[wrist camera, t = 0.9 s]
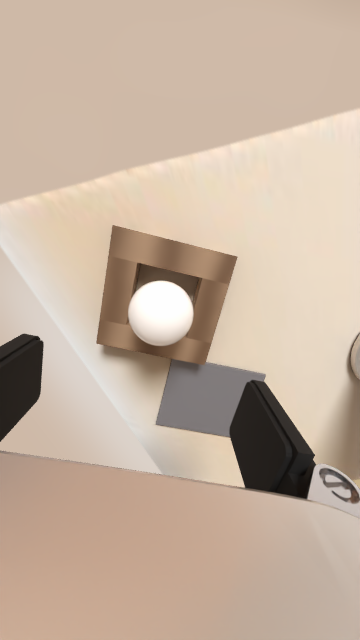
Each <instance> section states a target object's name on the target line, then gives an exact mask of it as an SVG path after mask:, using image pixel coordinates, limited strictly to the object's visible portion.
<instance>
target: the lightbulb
mask: <svg viewBox="0 0 360 640" xmlns="http://www.w3.org/2000/svg"><path fill="white" fill-rule="evenodd" d="M193 317H194V310H193V305H192V302H191V299H190V297H189V296H188V294H187V293H186V292H185V291H184V290H183V289H182V288H181V287H180V286H178V285H176V284H174V283H172V282H169V281H153V282H150V283H147V284H145V285H143V286H142V287H140V288H139V289H138V290H137V291H136V292H135V294H134V295H133V297H132V298H131V301H130V303H129V307H128V319H129V323H130V326H131V328H132V330H133V332H134V333H135V334H136V335H137V336H138V337H139V338H140V339H141V340H143V341H144V342H146V343H148V344H151V345H155V346H167V345H171V344H174V343H176V342H178V341H179V340H181V339H182V338H183V337H184V336H185V335H186V334H187V333H188V331H189V329H190V327H191V325H192V322H193Z"/></svg>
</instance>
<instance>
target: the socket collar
mask: <svg viewBox="0 0 360 640" xmlns="http://www.w3.org/2000/svg"><path fill="white" fill-rule="evenodd" d="M236 260H237V257H236V256H232V255H228V254H224V253H220V252H217V251H213V250H209V249H205V248H201V247H197V246H193V245H189V244H185V243H181V242H177V241H173V240H169V239H165V238H161V237H157V236H153V235H150V234H146V233H142V232H138V231H134V230H130V229H126V228H122V227H118V226H114V225H113V227H112V234H111V242H110V249H109V256H108V263H107V270H106V278H105V285H104V292H103V299H102V306H101V314H100V321H99V328H98V335H97V344H102V345H107V346H112V347H117V348H122V349H126V350H131V351H136V352H141V353H146V354H151V355H156V356H161V357H166V358H171V359H176V360H181V361H186V362H191V363H196V364H201V365H205V362H206V359H207V356H208V352H209V349H210V346H211V342H212V339H213V336H214V332H215V329H216V326H217V323H218V319H219V316H220V313H221V309H222V306H223V303H224V299H225V296H226V293H227V289H228V286H229V283H230V280H231V276H232V273H233V270H234V266H235V263H236ZM140 264H146V265H150V266H154V267H158V268H162V269H166V270H171V271H175V272H179V273H183V274H187V275H191V276H196V277H199V280H198V284H197V287H196V291H195V295H194V299H193V303H192V305H193V310H194V317H193V322H192V325H191V327H190V329H189V331H188V333H187V334H186V335H185V336H184V337H183V338H182V339H181V340H179V341H178V342H176V343H174V344H171V345H167V346H155V345H151V344H148V343H146V342H144V341H143V340H141V339H140V338H139V337H138V336H137V335H136V334H135V333H134V332H133V330H132V328H131V326H130V323H129V319H128V307H129V303H130V301H131V298H132V297H133V295H134V294H135V291H136V286H137V280H138V275H139V269H140Z"/></svg>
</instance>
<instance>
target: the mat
mask: <svg viewBox="0 0 360 640" xmlns="http://www.w3.org/2000/svg"><path fill="white" fill-rule="evenodd" d="M265 376H266V375H265V374H262V373H257V372H252V371H247V370H242V369H237V368H232V367H227V366H222V365H217V364H212V363H207V362H205V365H201V364H196V363H191V362H186V361H181V360H176V359H172V361H171V365H170V369H169V373H168V377H167V381H166V385H165V389H164V393H163V397H162V401H161V405H160V409H159V413H158V417H157V421H156V425H162V426H168V427H174V428H180V429H186V430H192V431H197V432H203V433H209V434H215V435H221V436H227V437H230V434H229V429H230V425H231V422H232V420H233V417H234V414H235V412H236V409H237V406H238V404H239V401H240V398H241V396H242V393H243V390H244V388H245V385H246V383H247V382H250V381H251V380H257V381H262V382H263V381H264V379H265Z"/></svg>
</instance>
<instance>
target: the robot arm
mask: <svg viewBox="0 0 360 640" xmlns="http://www.w3.org/2000/svg"><path fill="white" fill-rule="evenodd" d="M42 359H43V341H40V338H39V337H38V336H33V335H28V334H22V335H20V336H18V337H16V338H15V339H13V340H11V341H9V342H7V343H6V344H4V345H2V346H0V442H1V440H2V439H3V438H4V437H5V436H6V435H7V434H8V433H9V432H10V430H11V429H12V428H13V427H14V426H15V425H16V424H17V423H18V422H19V420H20V419H21V418H22V417H23V416H24V415H25V414H26V413H27V412H28V411H29V409H30V408H31V407H32V406H33V405H34V404H35V403H36V402H37V400H38V398H39V396H40V391H41V375H42ZM351 366H352V370H353V372H354V374H355V375H356V377H357V378H358V379H359V380H360V334H359V336H358V338H357V339H356V341H355V343H354V346H353V348H352V352H351ZM229 434H230V438H231V441H232V445H233V448H234V451H235V455H236V458H237V461H238V465H239V468H240V471H241V475H242V478H243V481H244V485H245V488H243V487H237V486H231V485H224V484H218V483H212V482H205V481H199V480H193V479H187V478H180V477H174V476H167V475H161V474H153V473H148V472H141V471H134V470H127V469H122V468H115V467H108V466H102V465H95V464H88V463H81V462H74V461H68V460H61V459H54V458H48V457H40V456H34V455H26V454H20V453H13V452H6V451H0V640H360V489H359V488H358V486H357V485H356V484H355V483H354V482H353V481H352V480H351V479H350V478H349V477H348V476H347V475H345V474H344V473H342V472H341V471H340V470H338V469H336V468H334V467H332V466H329V465H327V464H318V465H316V464H315V462H314V461H313V458H314V456H315V454H314V453H313V452H312V450H311V449H310V447H309V446H308V444H307V443H306V441H305V440H304V438H303V437H302V436H301V434H300V433H299V431H298V430H297V428H296V427H295V425H294V424H293V422H292V421H291V419H290V418H289V417H288V415H287V414H286V412H285V411H284V409H283V408H282V406H281V405H280V403H279V402H278V400H277V399H276V398H275V396H274V395H273V393H272V392H271V390H270V389H269V387H268V386H267V384H266V383H265V382H262V381H257V380H251V381H250V382H247V383H246V385H245V388H244V390H243V393H242V396H241V398H240V401H239V404H238V406H237V409H236V412H235V414H234V417H233V420H232V422H231V425H230V429H229Z"/></svg>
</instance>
